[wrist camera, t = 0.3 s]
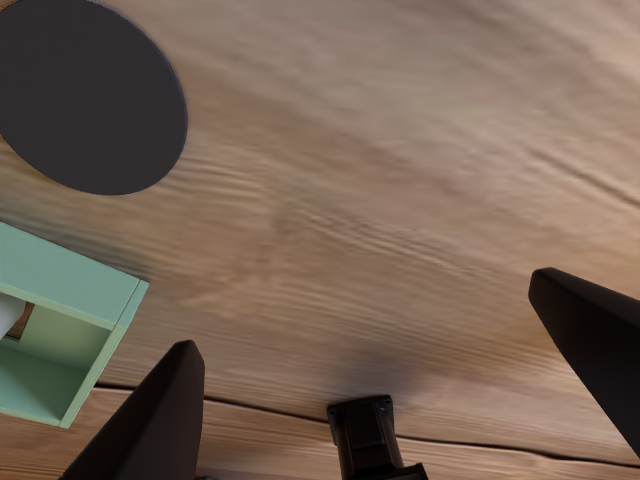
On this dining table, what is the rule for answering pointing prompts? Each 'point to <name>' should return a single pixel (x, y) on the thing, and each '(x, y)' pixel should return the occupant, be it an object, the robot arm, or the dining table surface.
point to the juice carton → (206, 478)
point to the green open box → (59, 326)
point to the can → (9, 312)
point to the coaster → (88, 97)
